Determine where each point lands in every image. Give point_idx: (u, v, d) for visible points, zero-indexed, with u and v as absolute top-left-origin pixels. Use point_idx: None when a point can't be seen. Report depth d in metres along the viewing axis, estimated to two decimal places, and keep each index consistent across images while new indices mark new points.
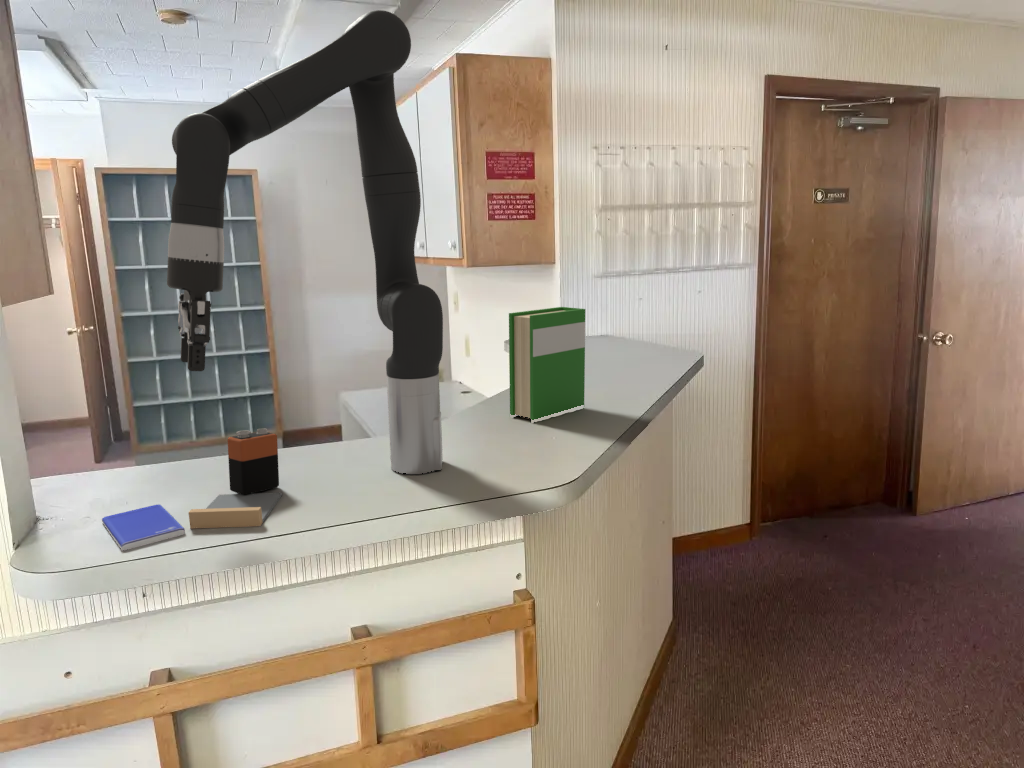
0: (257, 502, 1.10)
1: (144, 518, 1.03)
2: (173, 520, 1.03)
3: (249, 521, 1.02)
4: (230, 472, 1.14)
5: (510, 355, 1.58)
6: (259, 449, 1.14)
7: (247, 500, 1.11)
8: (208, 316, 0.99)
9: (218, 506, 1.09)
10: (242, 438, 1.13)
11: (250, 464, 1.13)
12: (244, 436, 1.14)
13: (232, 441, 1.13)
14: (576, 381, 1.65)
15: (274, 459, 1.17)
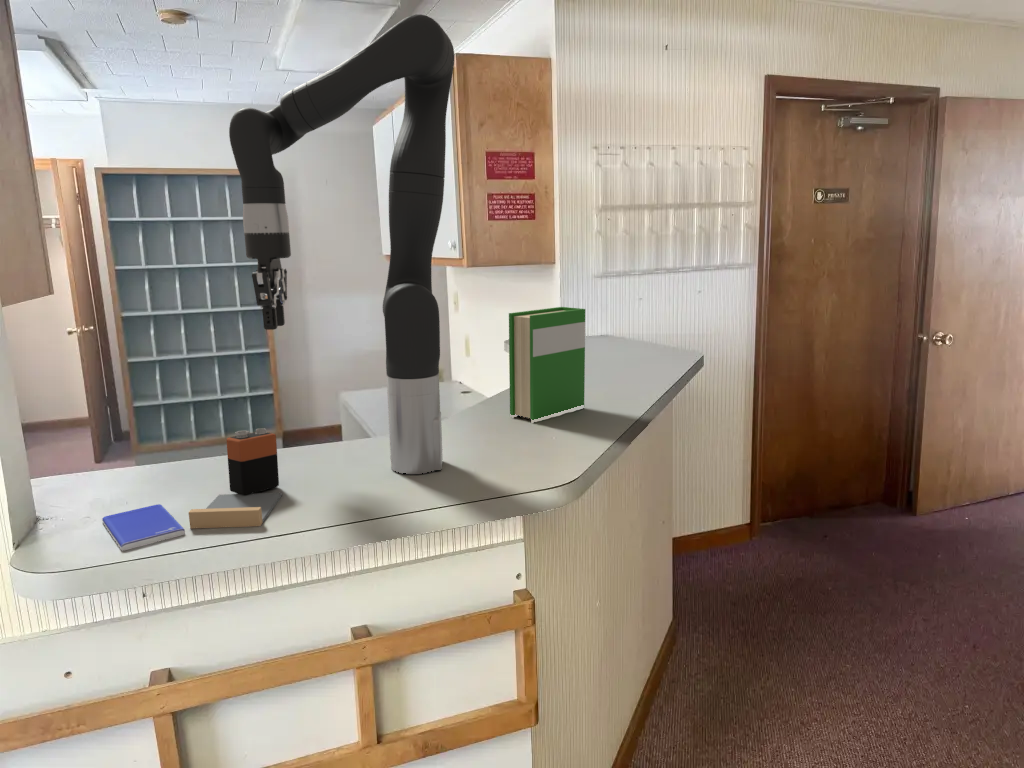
0: (257, 502, 1.10)
1: (145, 519, 1.03)
2: (173, 520, 1.03)
3: (249, 521, 1.02)
4: (230, 473, 1.14)
5: (510, 355, 1.58)
6: (258, 449, 1.14)
7: (247, 500, 1.11)
8: (266, 286, 1.19)
9: (218, 506, 1.09)
10: (241, 438, 1.13)
11: (249, 464, 1.13)
12: (243, 436, 1.14)
13: (230, 441, 1.13)
14: (576, 381, 1.65)
15: (273, 459, 1.17)
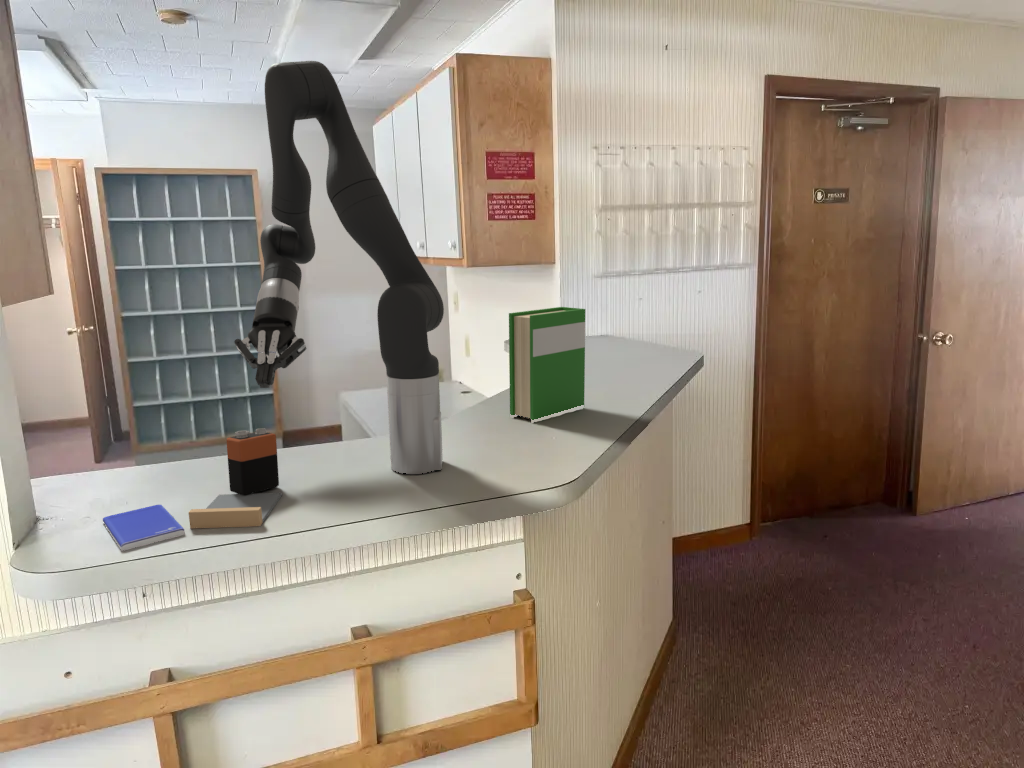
0: (257, 502, 1.10)
1: (145, 519, 1.03)
2: (173, 520, 1.03)
3: (249, 521, 1.02)
4: (230, 473, 1.14)
5: (510, 355, 1.58)
6: (258, 449, 1.14)
7: (247, 500, 1.11)
8: (239, 349, 1.26)
9: (218, 506, 1.09)
10: (241, 438, 1.13)
11: (249, 464, 1.13)
12: (243, 436, 1.14)
13: (230, 441, 1.13)
14: (576, 381, 1.65)
15: (273, 459, 1.17)
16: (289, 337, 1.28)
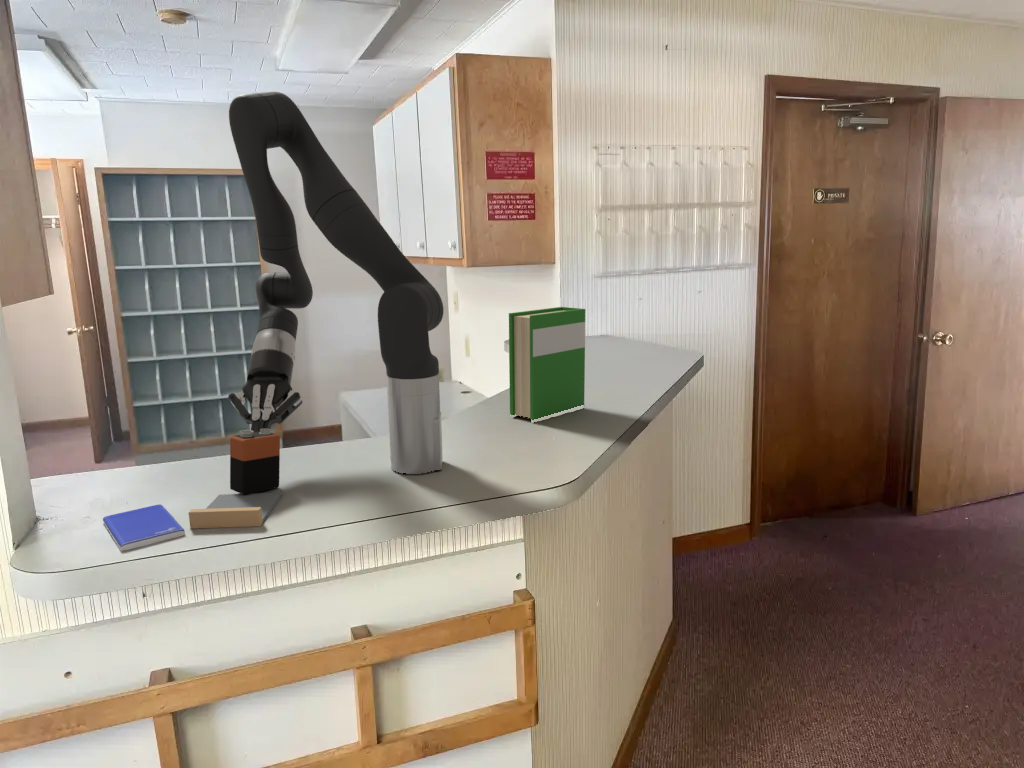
0: (257, 502, 1.10)
1: (145, 519, 1.03)
2: (173, 521, 1.03)
3: (249, 521, 1.02)
4: (231, 471, 1.14)
5: (510, 355, 1.58)
6: (261, 449, 1.14)
7: (247, 500, 1.11)
8: (233, 404, 1.22)
9: (218, 506, 1.09)
10: (245, 438, 1.13)
11: (252, 464, 1.13)
12: (247, 436, 1.14)
13: (234, 440, 1.13)
14: (576, 381, 1.65)
15: (276, 460, 1.17)
16: (284, 391, 1.24)
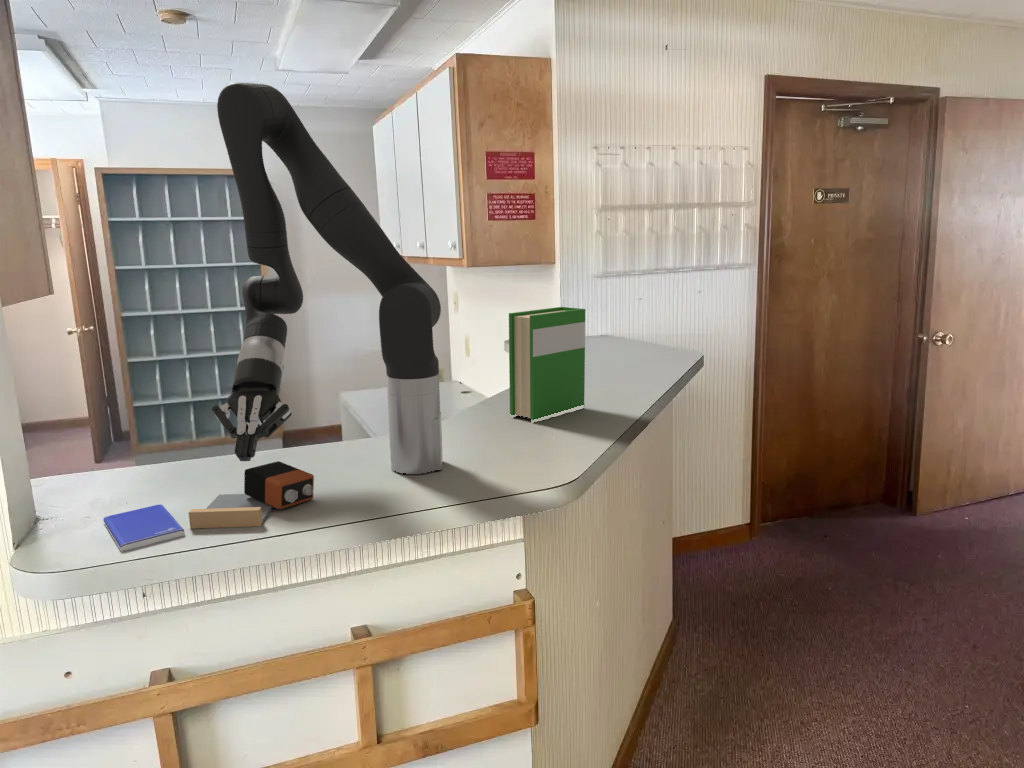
0: (257, 502, 1.10)
1: (145, 519, 1.03)
2: (173, 521, 1.02)
3: (249, 521, 1.02)
4: (255, 478, 1.10)
5: (510, 355, 1.58)
6: None
7: (247, 500, 1.11)
8: (217, 417, 1.14)
9: (218, 506, 1.09)
10: (284, 503, 1.08)
11: None
12: (288, 499, 1.08)
13: (277, 493, 1.07)
14: (576, 381, 1.65)
15: None
16: (272, 402, 1.16)
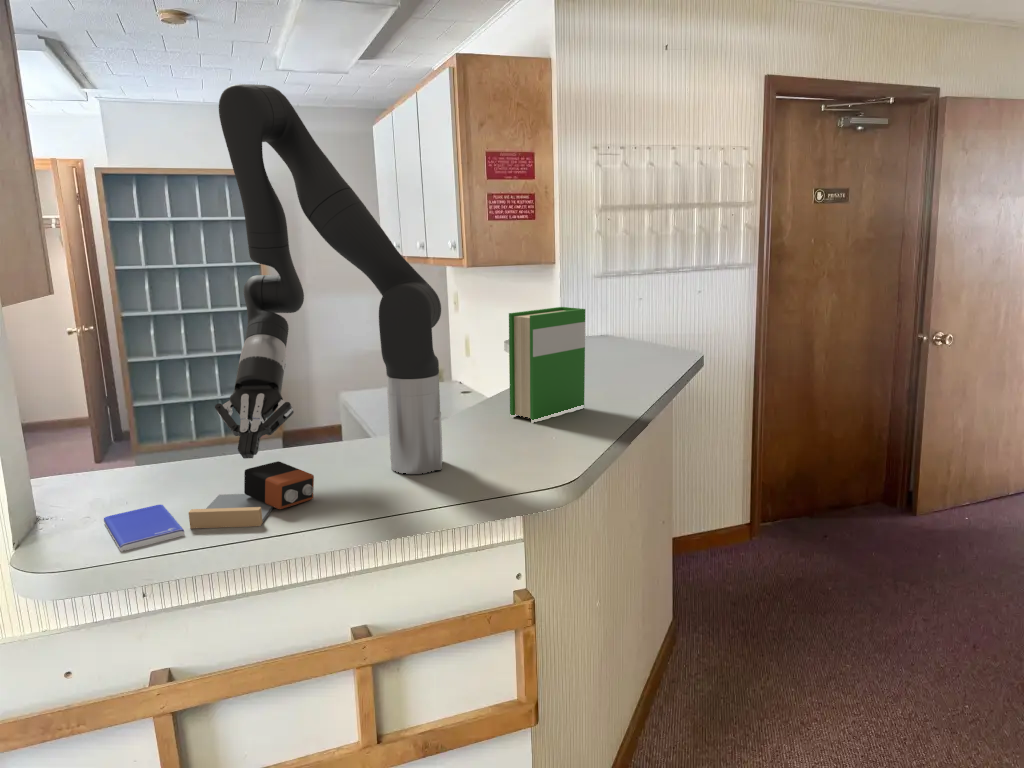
0: (257, 502, 1.10)
1: (145, 519, 1.03)
2: (173, 521, 1.02)
3: (249, 521, 1.02)
4: (255, 478, 1.10)
5: (510, 355, 1.58)
6: None
7: (247, 500, 1.11)
8: (220, 415, 1.16)
9: (218, 506, 1.09)
10: (284, 503, 1.08)
11: None
12: (288, 499, 1.08)
13: (277, 493, 1.07)
14: (576, 381, 1.65)
15: None
16: (274, 400, 1.17)
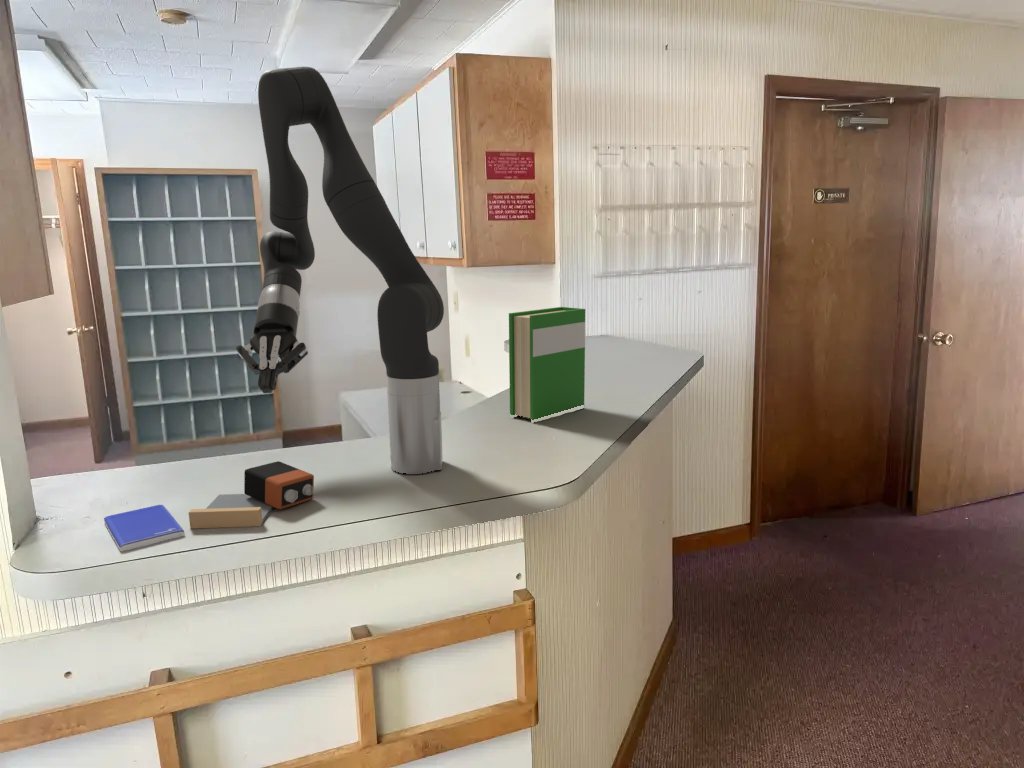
0: (257, 502, 1.10)
1: (145, 519, 1.03)
2: (173, 521, 1.02)
3: (249, 521, 1.02)
4: (255, 478, 1.10)
5: (510, 355, 1.58)
6: None
7: (247, 500, 1.11)
8: (241, 355, 1.26)
9: (218, 506, 1.09)
10: (284, 503, 1.08)
11: None
12: (288, 499, 1.08)
13: (277, 493, 1.07)
14: (576, 381, 1.65)
15: None
16: (290, 341, 1.28)
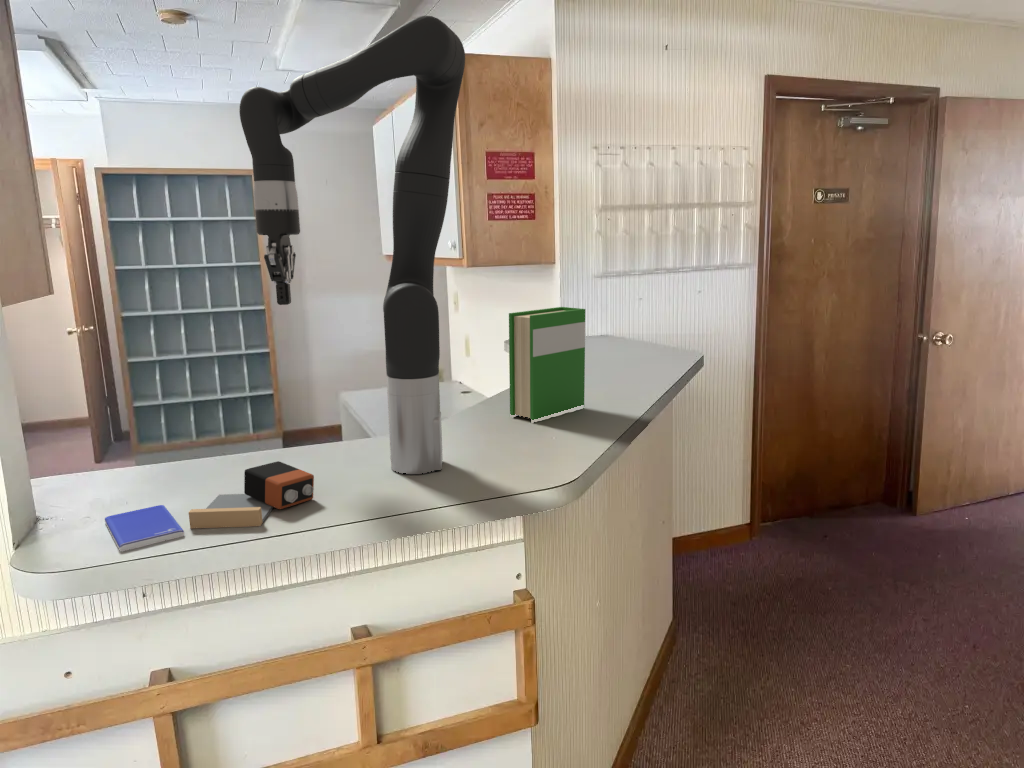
0: (257, 502, 1.10)
1: (146, 519, 1.03)
2: (173, 522, 1.02)
3: (249, 521, 1.02)
4: (255, 478, 1.10)
5: (510, 355, 1.58)
6: None
7: (247, 500, 1.11)
8: (279, 266, 1.24)
9: (218, 506, 1.09)
10: (284, 503, 1.08)
11: None
12: (288, 499, 1.08)
13: (277, 493, 1.07)
14: (576, 381, 1.65)
15: None
16: None
